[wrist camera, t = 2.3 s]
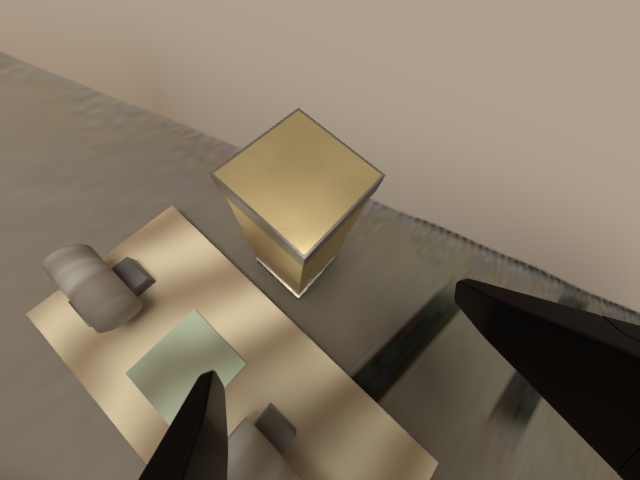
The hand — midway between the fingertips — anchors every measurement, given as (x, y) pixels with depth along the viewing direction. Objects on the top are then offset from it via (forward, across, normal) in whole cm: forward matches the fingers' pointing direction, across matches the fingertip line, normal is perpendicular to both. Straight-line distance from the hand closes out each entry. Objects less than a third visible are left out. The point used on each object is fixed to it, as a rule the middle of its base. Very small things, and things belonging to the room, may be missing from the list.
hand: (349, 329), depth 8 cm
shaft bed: (+7, +7, +10) cm, 14 cm away
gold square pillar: (+13, 0, +4) cm, 13 cm away
